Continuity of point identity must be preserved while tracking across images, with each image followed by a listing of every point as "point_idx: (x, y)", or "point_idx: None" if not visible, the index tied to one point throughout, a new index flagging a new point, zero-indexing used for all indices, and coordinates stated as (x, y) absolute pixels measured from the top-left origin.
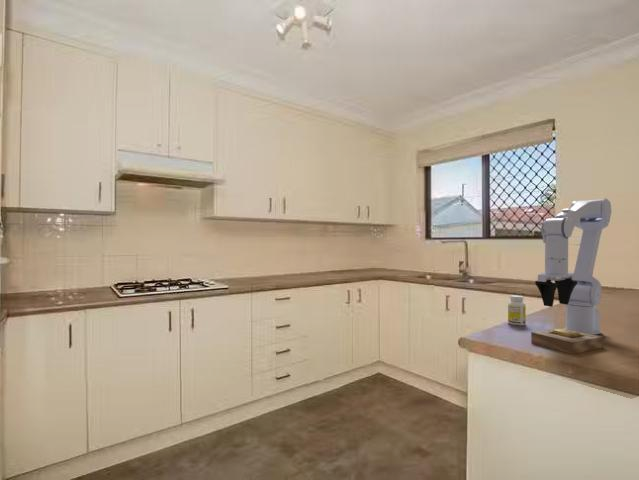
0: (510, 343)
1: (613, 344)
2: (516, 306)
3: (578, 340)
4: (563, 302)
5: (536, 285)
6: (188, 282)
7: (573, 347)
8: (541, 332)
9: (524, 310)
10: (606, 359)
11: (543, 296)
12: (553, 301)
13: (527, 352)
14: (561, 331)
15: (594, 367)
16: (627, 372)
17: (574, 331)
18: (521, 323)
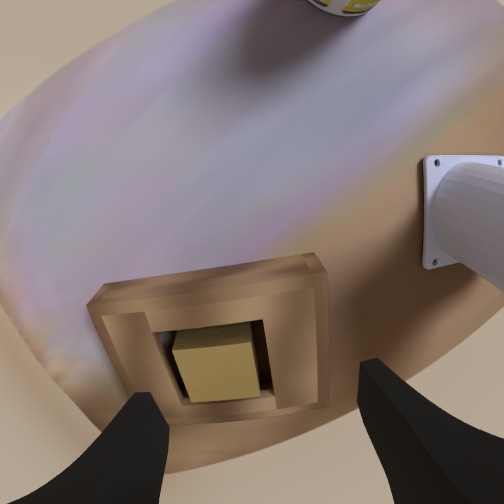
0: (32, 269)
1: (393, 356)
2: None
3: (184, 421)
4: (364, 393)
5: (14, 501)
6: None
7: None
8: (127, 322)
9: None
10: (208, 436)
11: (107, 450)
12: (165, 462)
13: (40, 349)
14: (191, 373)
15: None
16: (173, 468)
17: (251, 385)
18: (331, 10)
